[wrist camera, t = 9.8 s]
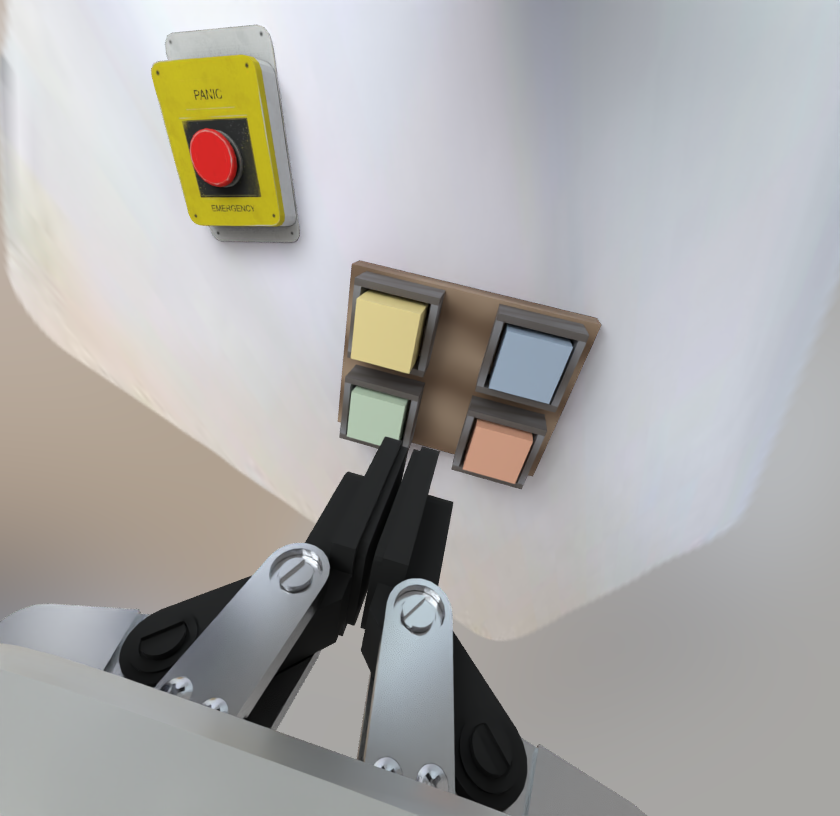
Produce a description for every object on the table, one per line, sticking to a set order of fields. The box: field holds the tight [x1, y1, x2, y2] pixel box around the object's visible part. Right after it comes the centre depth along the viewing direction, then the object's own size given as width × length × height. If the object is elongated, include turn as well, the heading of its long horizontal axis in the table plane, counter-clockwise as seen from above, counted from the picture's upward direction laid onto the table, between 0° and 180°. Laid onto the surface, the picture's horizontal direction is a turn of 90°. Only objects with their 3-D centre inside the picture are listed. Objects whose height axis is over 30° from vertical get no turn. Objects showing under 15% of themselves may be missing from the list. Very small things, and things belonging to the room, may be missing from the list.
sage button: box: [347, 386, 411, 446], centre depth 38 cm, size 5×5×3 cm
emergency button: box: [151, 25, 300, 242], centre depth 31 cm, size 9×4×15 cm
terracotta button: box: [463, 418, 533, 484], centre depth 37 cm, size 5×5×3 cm
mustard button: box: [351, 289, 429, 374], centre depth 32 cm, size 5×5×3 cm
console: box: [338, 260, 601, 489], centre depth 37 cm, size 17×22×5 cm
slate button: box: [489, 323, 573, 404], centre depth 33 cm, size 5×5×3 cm
